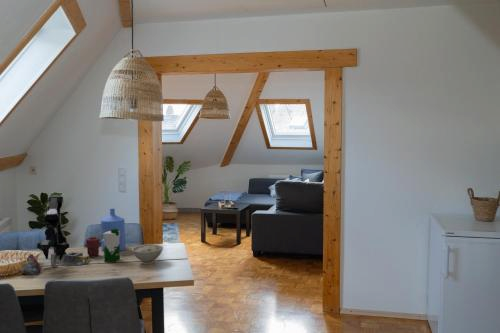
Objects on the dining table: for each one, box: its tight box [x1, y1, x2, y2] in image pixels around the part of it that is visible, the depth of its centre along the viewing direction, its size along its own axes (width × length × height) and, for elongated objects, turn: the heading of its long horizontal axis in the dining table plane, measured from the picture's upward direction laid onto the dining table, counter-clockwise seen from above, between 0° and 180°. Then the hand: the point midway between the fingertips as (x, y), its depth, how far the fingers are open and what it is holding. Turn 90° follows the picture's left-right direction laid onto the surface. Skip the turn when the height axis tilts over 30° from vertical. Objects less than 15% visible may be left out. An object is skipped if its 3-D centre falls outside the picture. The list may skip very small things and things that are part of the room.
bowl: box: [131, 244, 164, 265], centre depth 298 cm, size 19×19×10 cm
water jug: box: [100, 208, 126, 252], centre depth 331 cm, size 16×16×28 cm
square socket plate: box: [56, 251, 93, 266], centre depth 301 cm, size 19×12×5 cm, turn 75°
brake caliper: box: [18, 253, 43, 275], centre depth 278 cm, size 11×11×12 cm
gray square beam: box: [50, 252, 58, 268], centre depth 291 cm, size 2×2×8 cm
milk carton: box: [102, 229, 121, 263], centre depth 303 cm, size 9×9×20 cm
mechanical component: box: [84, 236, 102, 258], centre depth 315 cm, size 12×10×10 cm
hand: (53, 259), depth 291 cm, fingers open, 9 cm apart
